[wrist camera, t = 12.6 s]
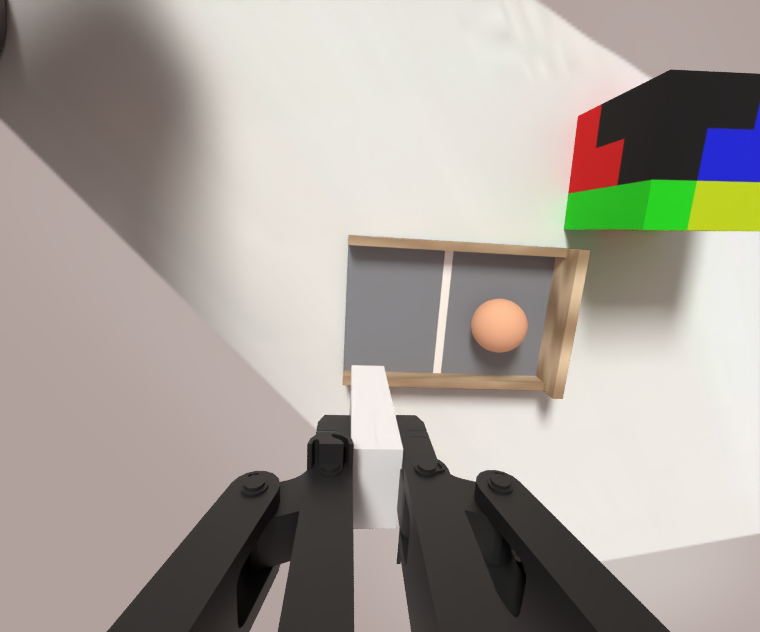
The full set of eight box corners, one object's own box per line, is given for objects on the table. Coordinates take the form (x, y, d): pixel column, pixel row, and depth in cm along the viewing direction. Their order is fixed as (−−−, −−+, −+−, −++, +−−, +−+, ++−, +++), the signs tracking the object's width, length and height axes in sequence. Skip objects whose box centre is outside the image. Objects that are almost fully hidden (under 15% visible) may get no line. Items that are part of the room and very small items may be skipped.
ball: (541, 300, 33) (492, 292, 37) (512, 307, 30) (462, 297, 33) (534, 352, 34) (487, 339, 38) (506, 364, 31) (458, 349, 35)
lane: (348, 235, 34) (348, 235, 33) (563, 248, 36) (567, 248, 35) (343, 375, 37) (343, 377, 37) (540, 380, 39) (543, 383, 38)
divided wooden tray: (348, 235, 33) (348, 235, 30) (567, 248, 35) (590, 250, 32) (343, 377, 37) (342, 393, 33) (543, 383, 38) (562, 398, 35)
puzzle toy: (680, 120, 34) (812, 76, 24) (660, 230, 36) (773, 231, 26) (577, 116, 33) (670, 69, 23) (563, 229, 35) (642, 229, 26)
